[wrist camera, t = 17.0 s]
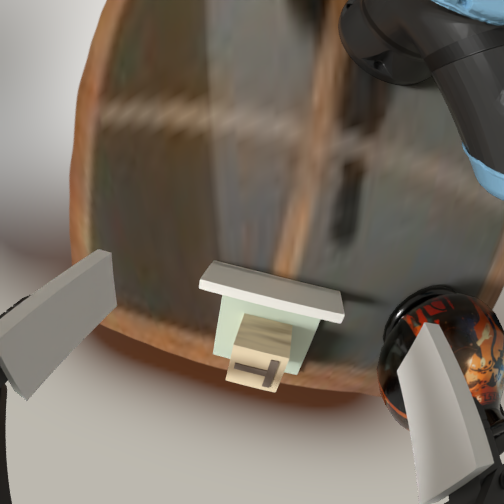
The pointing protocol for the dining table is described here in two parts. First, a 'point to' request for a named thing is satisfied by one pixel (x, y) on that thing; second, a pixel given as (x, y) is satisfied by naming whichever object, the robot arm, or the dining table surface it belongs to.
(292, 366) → the display pad
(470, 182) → the dining table surface
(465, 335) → the amphora vase
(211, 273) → the white slab
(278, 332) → the maple cube
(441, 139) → the dining table surface
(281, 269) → the dining table surface
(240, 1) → the dining table surface
